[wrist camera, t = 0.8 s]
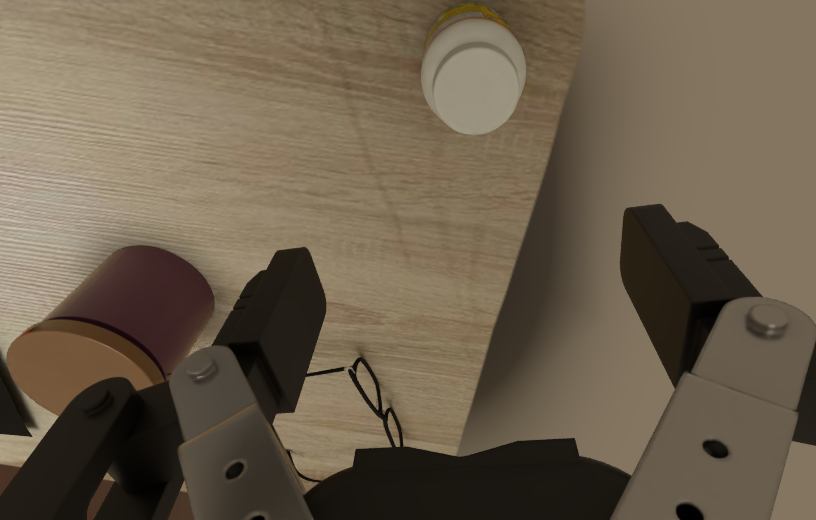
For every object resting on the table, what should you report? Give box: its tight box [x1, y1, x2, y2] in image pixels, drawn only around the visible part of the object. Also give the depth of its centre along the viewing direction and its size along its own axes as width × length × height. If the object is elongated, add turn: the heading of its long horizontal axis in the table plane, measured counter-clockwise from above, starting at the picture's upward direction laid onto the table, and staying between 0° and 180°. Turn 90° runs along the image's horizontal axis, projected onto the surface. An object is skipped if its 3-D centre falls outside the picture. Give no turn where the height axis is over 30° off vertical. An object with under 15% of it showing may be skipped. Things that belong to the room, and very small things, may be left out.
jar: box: [6, 246, 214, 416], centre depth 39 cm, size 11×11×11 cm
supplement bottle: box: [421, 2, 526, 135], centre depth 26 cm, size 5×5×10 cm
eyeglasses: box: [286, 357, 403, 483], centre depth 49 cm, size 16×16×4 cm
